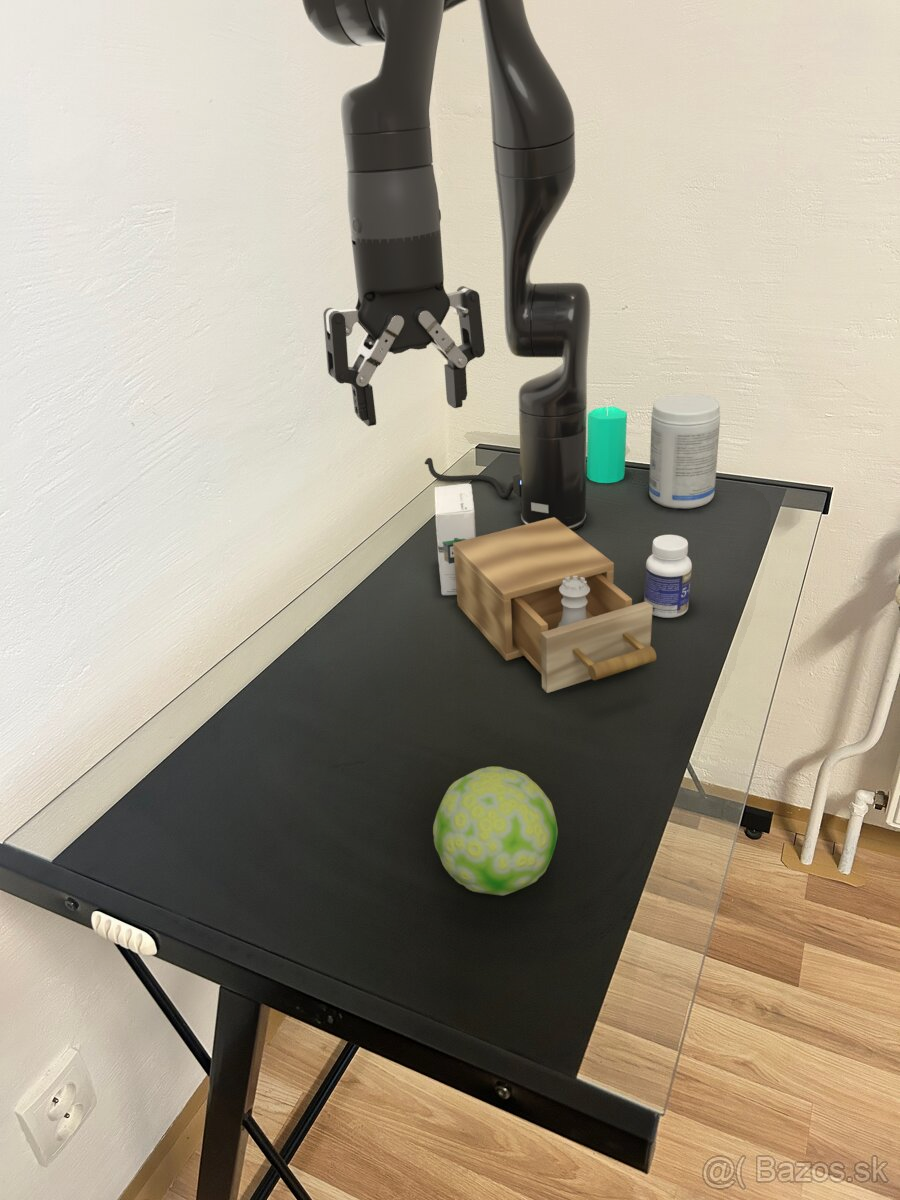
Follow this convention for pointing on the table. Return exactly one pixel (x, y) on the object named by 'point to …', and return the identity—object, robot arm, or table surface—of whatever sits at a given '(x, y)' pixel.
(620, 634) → the drawer
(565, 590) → the rook chess piece
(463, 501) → the ink box
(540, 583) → the cabinet
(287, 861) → the table surface
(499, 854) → the decorative ball
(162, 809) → the table surface
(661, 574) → the pill bottle
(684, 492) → the supplement tub
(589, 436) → the candle
